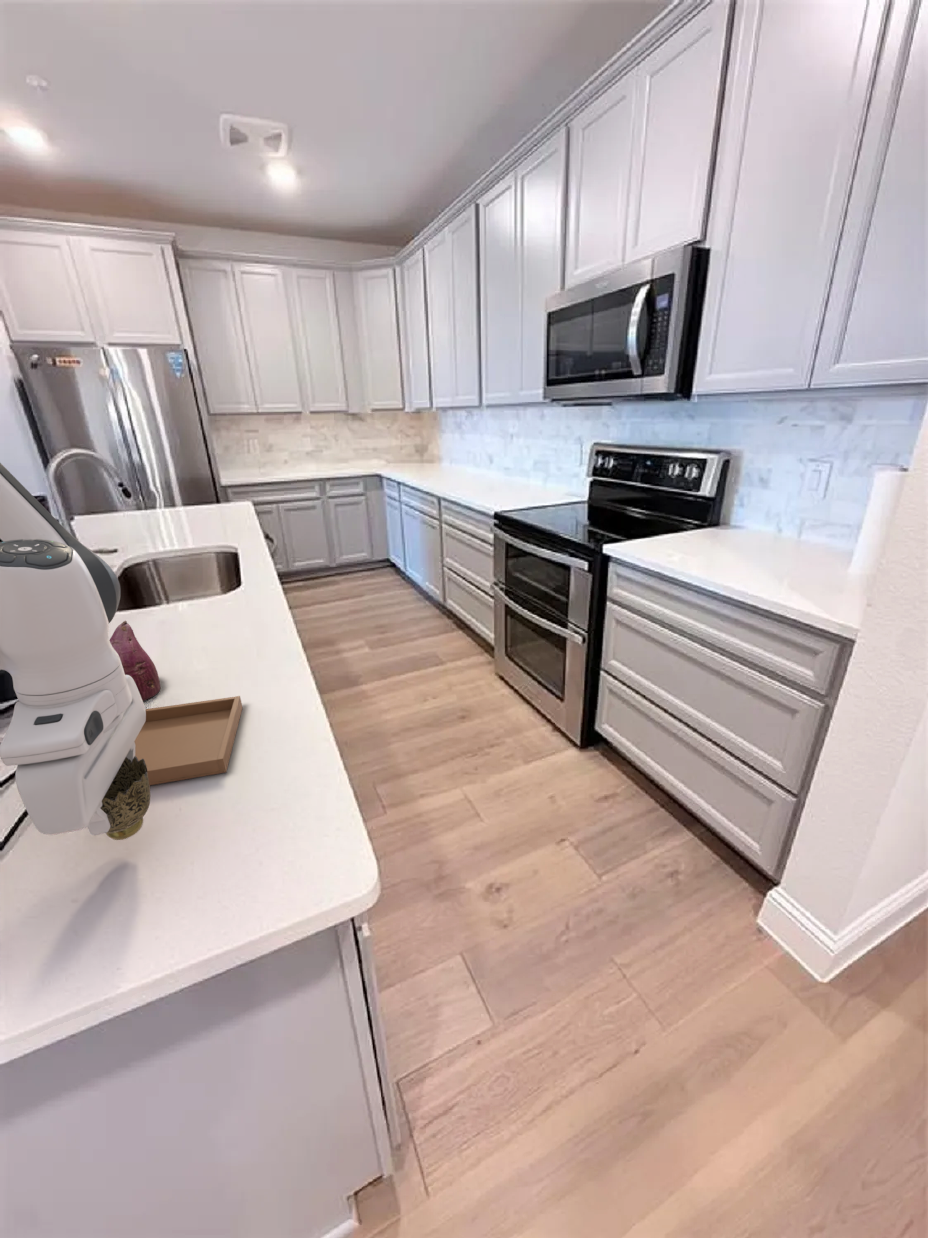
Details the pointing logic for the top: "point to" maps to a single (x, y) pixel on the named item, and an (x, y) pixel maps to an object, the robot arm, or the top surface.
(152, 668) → the vegetable
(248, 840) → the top surface
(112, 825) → the cup
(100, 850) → the top surface
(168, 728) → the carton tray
